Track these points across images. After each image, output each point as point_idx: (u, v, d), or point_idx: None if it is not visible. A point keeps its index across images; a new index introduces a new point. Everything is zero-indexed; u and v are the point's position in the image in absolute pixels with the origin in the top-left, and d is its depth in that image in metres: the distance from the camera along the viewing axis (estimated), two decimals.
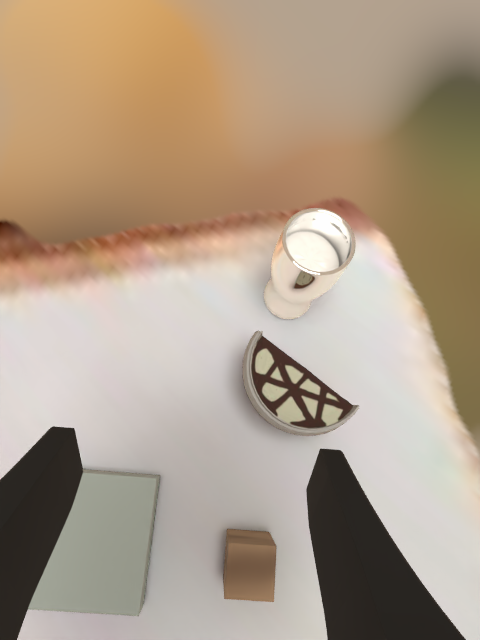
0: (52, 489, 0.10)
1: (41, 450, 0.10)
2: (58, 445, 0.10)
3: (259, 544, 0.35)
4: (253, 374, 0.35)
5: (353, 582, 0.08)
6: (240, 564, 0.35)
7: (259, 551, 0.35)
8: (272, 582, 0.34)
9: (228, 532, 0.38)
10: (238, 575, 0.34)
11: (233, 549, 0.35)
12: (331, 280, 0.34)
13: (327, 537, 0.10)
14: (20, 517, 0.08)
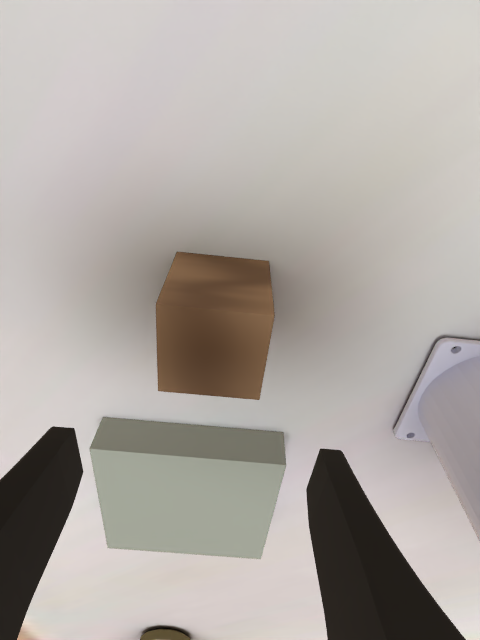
0: (52, 489, 0.10)
1: (41, 450, 0.10)
2: (58, 445, 0.10)
3: (157, 336, 0.15)
4: None
5: (353, 582, 0.08)
6: (198, 373, 0.16)
7: (170, 338, 0.15)
8: (233, 315, 0.14)
9: None
10: (219, 377, 0.16)
11: (169, 383, 0.16)
12: None
13: (327, 537, 0.10)
14: (20, 517, 0.08)
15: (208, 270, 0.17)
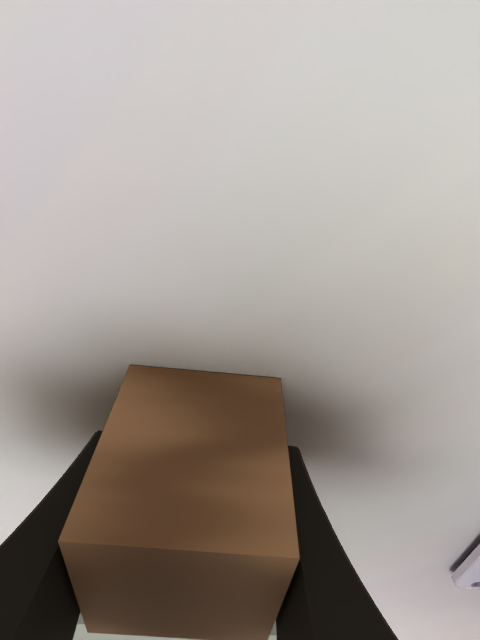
0: None
1: (91, 454, 0.10)
2: None
3: (72, 574, 0.08)
4: None
5: (294, 578, 0.08)
6: (155, 618, 0.09)
7: (96, 581, 0.08)
8: (217, 556, 0.07)
9: None
10: (194, 621, 0.09)
11: (106, 626, 0.09)
12: None
13: None
14: None
15: (177, 414, 0.10)
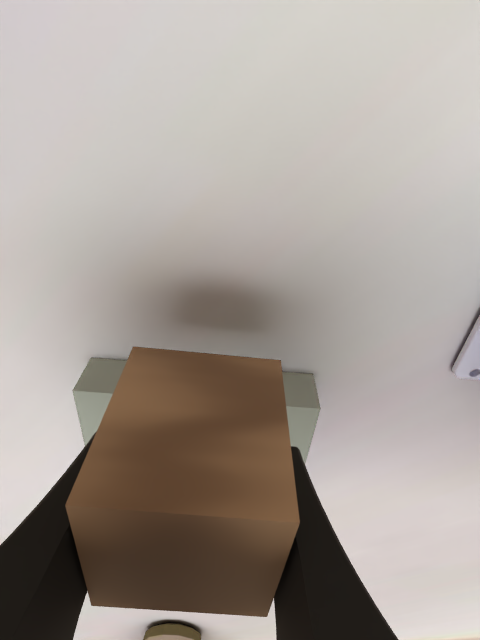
0: None
1: None
2: None
3: (78, 543, 0.08)
4: None
5: (294, 578, 0.08)
6: (159, 589, 0.09)
7: (101, 549, 0.08)
8: (220, 521, 0.07)
9: None
10: (196, 592, 0.09)
11: (110, 598, 0.09)
12: None
13: None
14: None
15: (180, 392, 0.10)
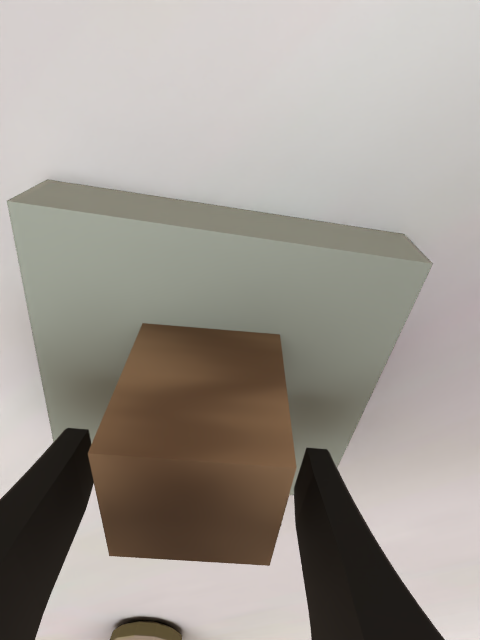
0: (68, 490, 0.10)
1: (57, 451, 0.10)
2: (74, 446, 0.10)
3: (98, 492, 0.09)
4: None
5: (334, 581, 0.08)
6: (170, 537, 0.10)
7: (119, 497, 0.09)
8: (225, 467, 0.08)
9: None
10: (204, 541, 0.10)
11: (126, 548, 0.10)
12: None
13: (312, 536, 0.10)
14: (38, 518, 0.08)
15: (187, 361, 0.11)
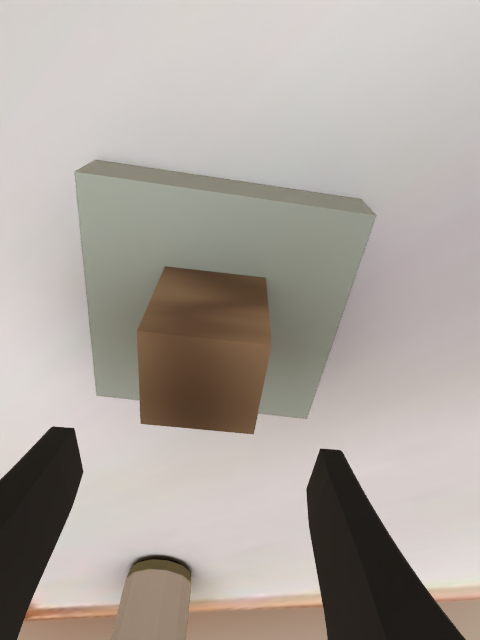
0: (52, 489, 0.10)
1: (41, 450, 0.10)
2: (58, 445, 0.10)
3: (139, 366, 0.13)
4: None
5: (353, 582, 0.08)
6: (185, 406, 0.14)
7: (153, 368, 0.13)
8: (225, 344, 0.13)
9: None
10: (208, 410, 0.14)
11: (153, 416, 0.15)
12: None
13: (327, 537, 0.10)
14: (20, 517, 0.08)
15: (198, 289, 0.15)
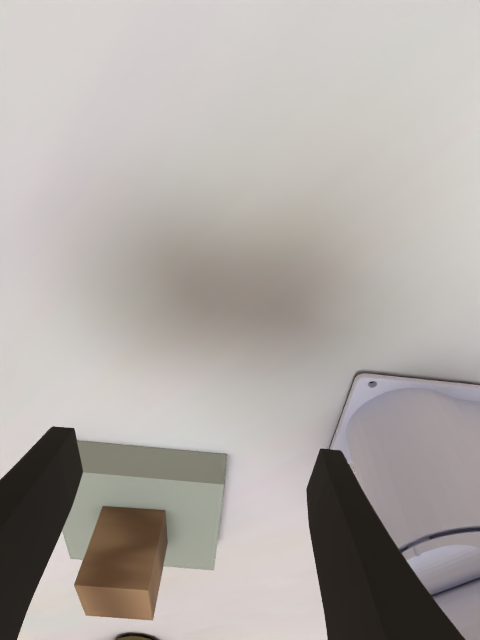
0: (52, 489, 0.10)
1: (41, 450, 0.10)
2: (58, 445, 0.10)
3: (79, 594, 0.24)
4: None
5: (353, 582, 0.08)
6: (109, 609, 0.24)
7: (86, 597, 0.24)
8: (123, 589, 0.23)
9: None
10: (123, 611, 0.24)
11: (92, 612, 0.25)
12: None
13: (327, 537, 0.10)
14: (20, 517, 0.08)
15: (118, 532, 0.25)
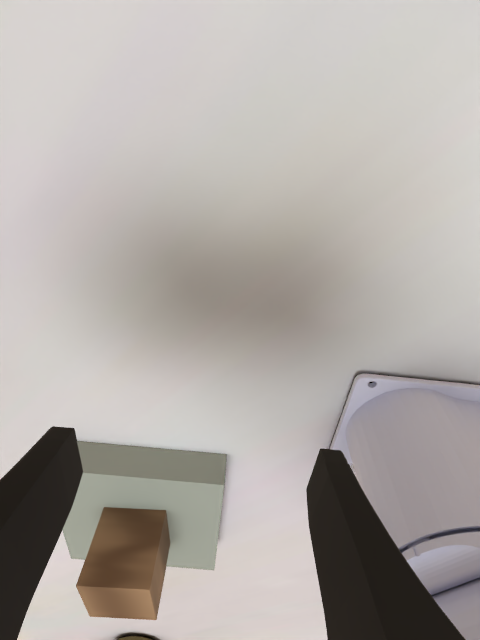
0: (52, 489, 0.10)
1: (41, 450, 0.10)
2: (58, 445, 0.10)
3: (82, 595, 0.24)
4: None
5: (353, 582, 0.08)
6: (112, 610, 0.25)
7: (89, 597, 0.24)
8: (124, 589, 0.23)
9: None
10: (126, 611, 0.25)
11: (96, 613, 0.25)
12: None
13: (327, 537, 0.10)
14: (20, 517, 0.08)
15: (119, 532, 0.26)
